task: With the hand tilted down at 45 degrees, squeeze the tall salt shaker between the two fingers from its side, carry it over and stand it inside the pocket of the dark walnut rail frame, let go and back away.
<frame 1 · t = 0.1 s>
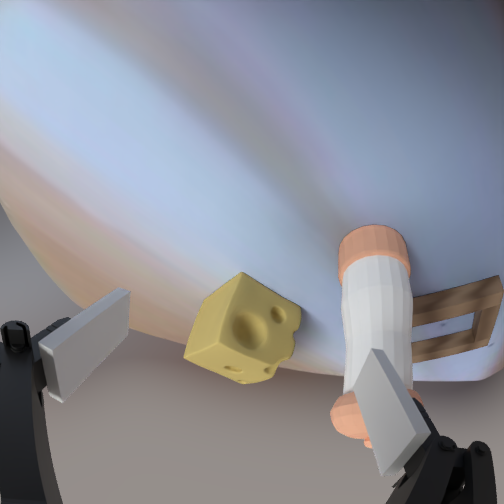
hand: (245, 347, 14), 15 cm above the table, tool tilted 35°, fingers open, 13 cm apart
rail frame: (433, 323, 35), on the table
salt shaker: (372, 249, 28), on the table
cheese: (249, 301, 40), on the table
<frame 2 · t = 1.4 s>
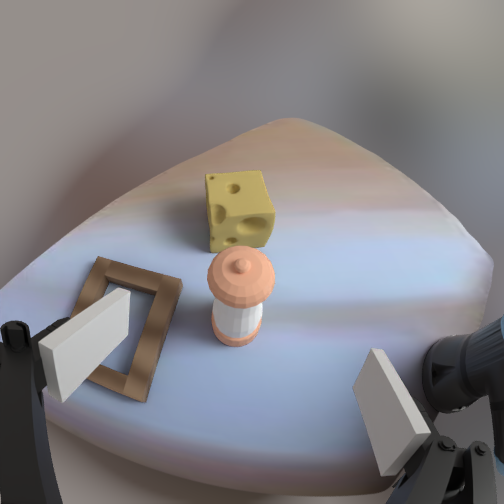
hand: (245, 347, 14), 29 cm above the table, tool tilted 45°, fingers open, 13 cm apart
rail frame: (119, 327, 41), on the table
salt shaker: (235, 324, 44), on the table
cheese: (235, 228, 54), on the table
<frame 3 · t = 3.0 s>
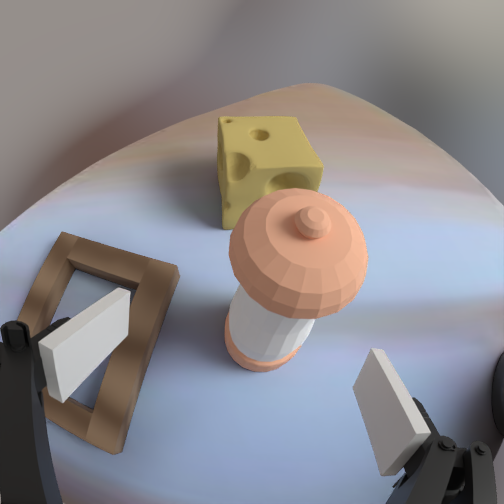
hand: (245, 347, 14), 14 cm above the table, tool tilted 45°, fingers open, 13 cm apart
rail frame: (83, 336, 26), on the table
salt shaker: (260, 337, 28), on the table
cheese: (257, 197, 38), on the table
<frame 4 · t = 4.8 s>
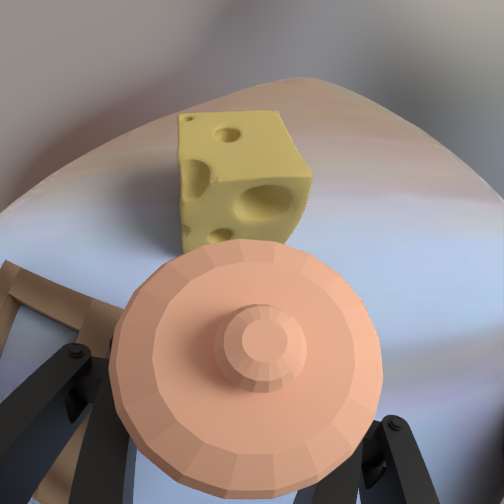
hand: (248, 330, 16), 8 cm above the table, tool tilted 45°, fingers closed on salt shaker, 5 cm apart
rail frame: (29, 384, 18), on the table
salt shaker: (229, 399, 21), on the table, touching gripper
cheese: (230, 214, 31), on the table
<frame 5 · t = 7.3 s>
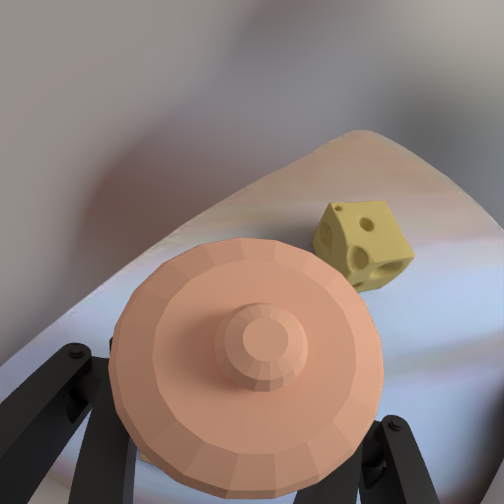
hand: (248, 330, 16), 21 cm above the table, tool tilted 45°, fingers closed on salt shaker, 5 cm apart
salt shaker: (229, 398, 21), point 13 cm above the table, touching gripper
cheese: (346, 265, 44), on the table
when the fingers open (9 cm above the table, at t = 9.7 s): salt shaker drops 1 cm, resting in rail frame.
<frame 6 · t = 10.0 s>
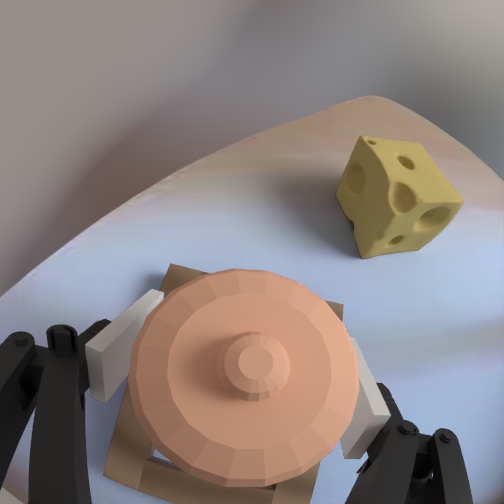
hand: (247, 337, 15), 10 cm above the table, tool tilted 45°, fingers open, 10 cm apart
rail frame: (229, 399, 22), on the table
salt shaker: (229, 400, 22), resting in rail frame
cheese: (378, 222, 35), on the table
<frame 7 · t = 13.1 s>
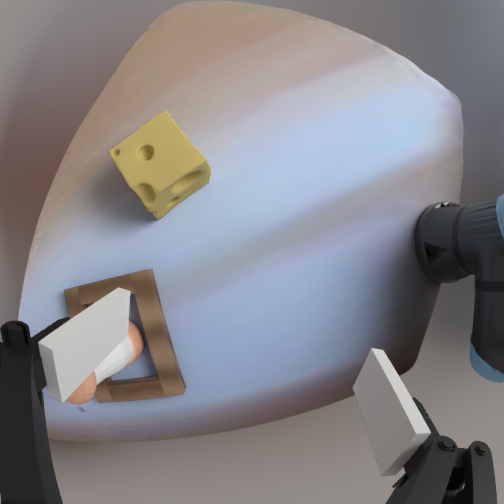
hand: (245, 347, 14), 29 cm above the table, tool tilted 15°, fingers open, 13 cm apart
rail frame: (123, 339, 42), on the table
salt shaker: (124, 339, 42), resting in rail frame
cheese: (169, 175, 44), on the table
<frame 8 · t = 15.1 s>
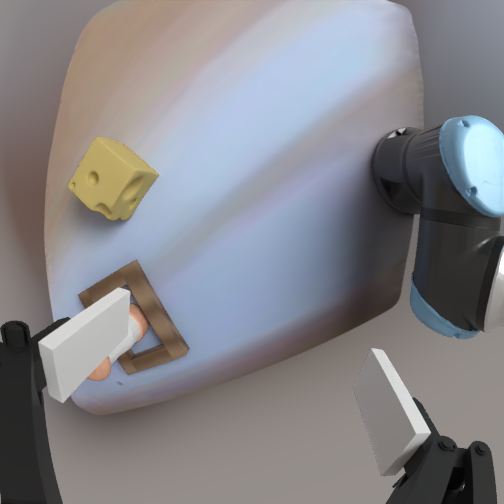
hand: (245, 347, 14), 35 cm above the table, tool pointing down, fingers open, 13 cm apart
rail frame: (133, 319, 53), on the table
salt shaker: (133, 319, 53), resting in rail frame
cheese: (127, 179, 48), on the table
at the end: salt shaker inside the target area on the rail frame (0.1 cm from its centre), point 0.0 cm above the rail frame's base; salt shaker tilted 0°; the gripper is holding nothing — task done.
